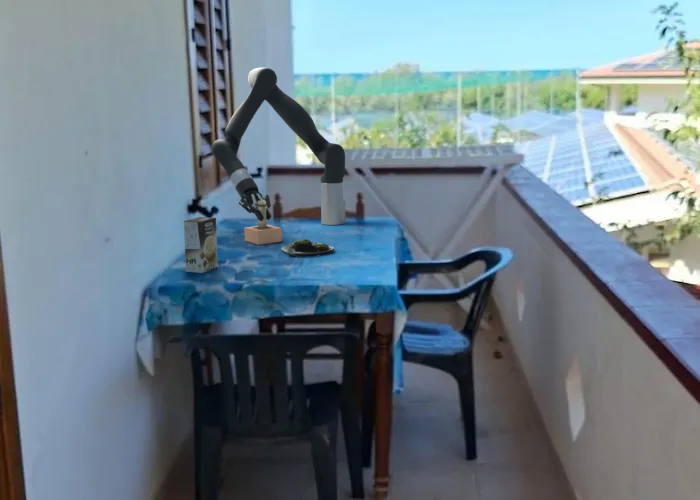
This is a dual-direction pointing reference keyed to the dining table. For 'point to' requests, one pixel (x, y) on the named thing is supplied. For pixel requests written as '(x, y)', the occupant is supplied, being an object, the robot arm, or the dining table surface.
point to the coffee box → (200, 244)
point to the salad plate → (307, 248)
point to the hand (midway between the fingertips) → (266, 219)
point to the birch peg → (263, 210)
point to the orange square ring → (263, 234)
